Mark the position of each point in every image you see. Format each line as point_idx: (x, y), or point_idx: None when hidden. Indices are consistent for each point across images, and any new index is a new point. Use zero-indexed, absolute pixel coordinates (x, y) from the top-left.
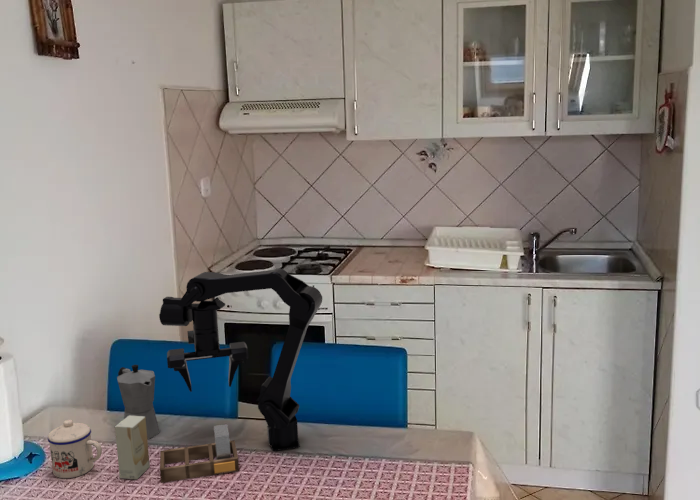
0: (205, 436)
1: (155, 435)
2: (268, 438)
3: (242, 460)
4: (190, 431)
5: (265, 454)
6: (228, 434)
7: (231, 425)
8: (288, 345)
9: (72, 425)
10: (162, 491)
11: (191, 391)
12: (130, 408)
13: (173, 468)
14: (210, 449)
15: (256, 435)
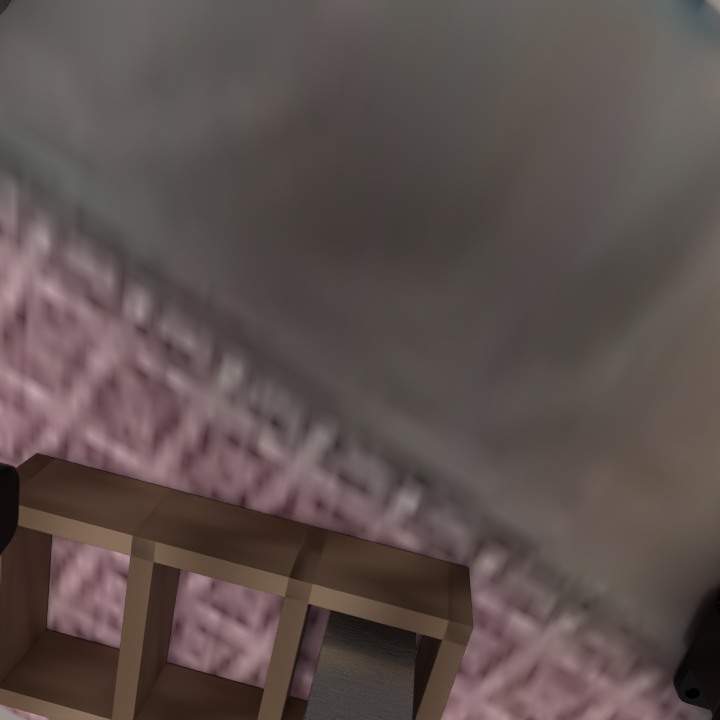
0: (362, 244)
1: (4, 8)
2: (711, 661)
3: (467, 668)
4: (277, 82)
5: (615, 682)
6: None
7: (620, 155)
8: None
9: None
10: None
11: (9, 537)
12: None
13: (48, 716)
14: (285, 650)
15: (702, 436)
